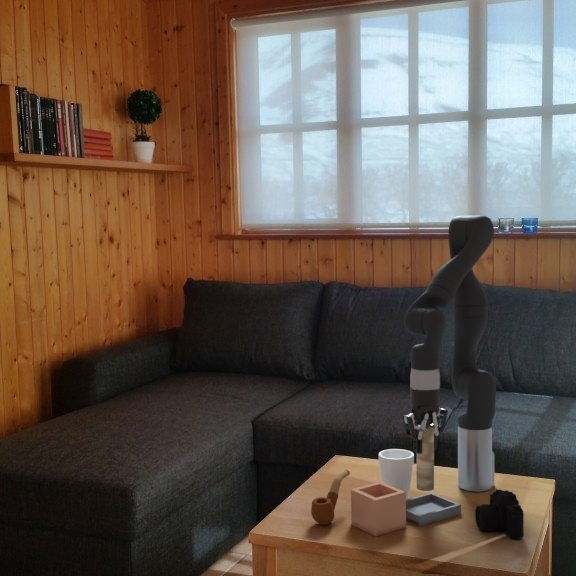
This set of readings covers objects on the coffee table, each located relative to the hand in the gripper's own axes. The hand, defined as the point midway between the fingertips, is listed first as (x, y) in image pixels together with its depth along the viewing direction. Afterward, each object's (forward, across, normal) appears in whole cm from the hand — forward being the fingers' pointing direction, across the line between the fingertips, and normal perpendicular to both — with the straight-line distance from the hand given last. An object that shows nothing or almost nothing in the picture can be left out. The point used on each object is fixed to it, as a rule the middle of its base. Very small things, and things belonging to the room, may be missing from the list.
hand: (425, 450), depth 203 cm
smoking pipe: (+17, +21, -13) cm, 30 cm away
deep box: (+17, +15, -1) cm, 22 cm away
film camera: (+17, -8, +17) cm, 25 cm away
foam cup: (+17, 0, -11) cm, 20 cm away
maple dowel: (+10, 0, 0) cm, 10 cm away
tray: (+17, 0, 0) cm, 17 cm away
